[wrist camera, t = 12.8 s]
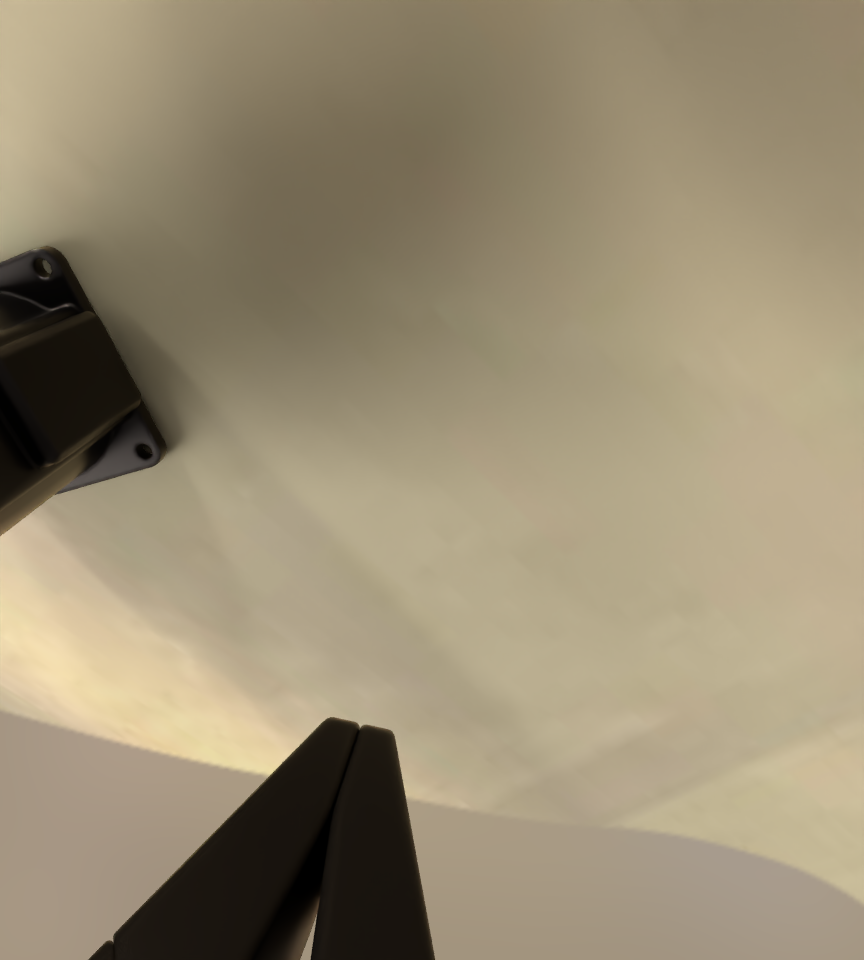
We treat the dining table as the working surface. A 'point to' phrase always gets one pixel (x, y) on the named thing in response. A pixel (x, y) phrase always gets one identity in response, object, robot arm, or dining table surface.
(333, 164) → the dining table surface
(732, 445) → the dining table surface
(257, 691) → the dining table surface
